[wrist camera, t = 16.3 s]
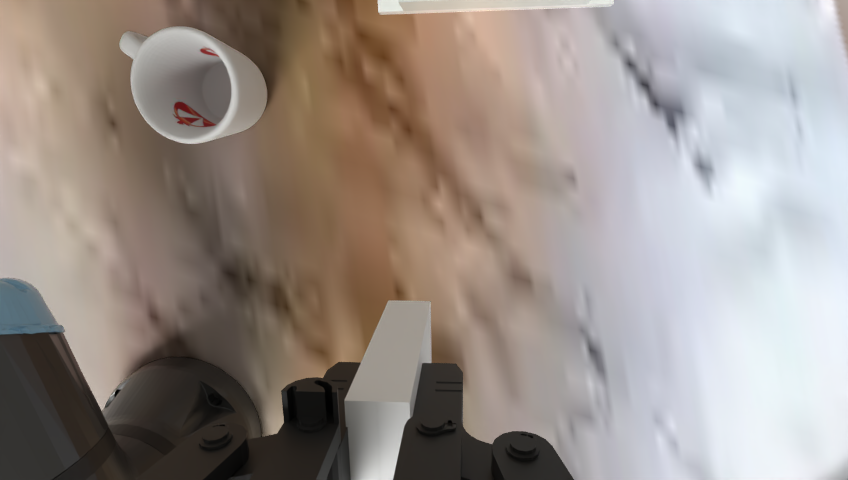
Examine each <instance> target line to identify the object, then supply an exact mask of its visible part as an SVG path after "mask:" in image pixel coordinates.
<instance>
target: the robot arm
mask: <svg viewBox="0 0 848 480" xmlns="http://www.w3.org/2000/svg"><path fill="white" fill-rule="evenodd" d="M63 332H65V330H64V328H63V326H62V325H59V324H58V323H57V321H56V320H55V318H54V316H53V315H52V313H51V312H50V310H49V308H48V307H47V305H46V303H45V301H44V300H43V298H42V296H41V294H40V293H39V291H38V290H37V289H36V288H35V287H34V286H33V285H31V284H30V283H28V282H26V281H23V280H19V279H15V278H0V480H574V479H573V478H572V476H571V474H570V473H569V471H568V470H567V468H566V467H565V465H564V464H563V462H562V460H561V459H560V457H559V456H558V454H557V453H556V451H555V450H554V448H553V446H552V445H551V444H550V443H549V442H548V441H547V440H546V439H544V438H542V437H540V436H538V435H536V434H532V433H528V432H523V431H512V432H508V433H504V434H502V435H500V436H499V437H497V438H496V439H495V440H494V442H493V444H489V443H485V442H482V441H479V440H477V439H475V438H474V437H472V436H470V435H469V434H468V433H467V432H466V431H465V429H464V427H463V372H462V371H461V370H460V368H459V367H458V366H457V364H448V363H431V301H388V303H387V305H386V307H385V310H384V312H383V314H382V316H381V319H380V321H379V323H378V325H377V328H376V330H375V332H374V334H373V337H372V339H371V341H370V344H369V346H368V348H367V350H366V353H365V355H364V357H363V359H362V362H361V363H355V362H338V363H337V364H335V365H334V366H333V367H331V368H330V369H328V370H327V372H326V374H325V375H324V377H323V378H318V377H316V378H305V379H301V380H298V381H295V382H293V383H291V384H289V385H287V386H286V387H285V388H284V389H283V390H282V391H281V392H282V403H283V415H284V424H283V425H282V427H281V428H280V430H279V432H278V433H277V434H274V435H269V436H265V437H261V427H260V422H259V417H258V414H257V411H256V409H255V407H254V405H253V403H252V401H251V399H250V398H249V396H248V394H247V393H246V392H245V391H244V389H243V388H242V387H241V386H240V385H239V384H238V383H237V382H236V381H235V380H234V379H233V378H232V377H230V376H229V375H228V374H227V373H225V372H224V371H222V370H220V369H219V368H217V367H215V366H213V365H211V364H208V363H206V362H203V361H200V360H196V359H191V358H184V357H170V358H163V359H159V360H156V361H153V362H150V363H148V364H146V365H144V366H142V367H141V368H139V369H138V370H137V371H135V372H134V373H133V374H131V375H130V376H129V377H127V378H126V379H125V380H124V381H123V382H121V383H120V384H119V386H118V387H117V388H116V389H115V390H114V391H113V393H112V394H111V396H110V397H109V399H108V401H107V403H106V405H105V408H104V409H103V410H102V411H101V409H100V407H99V405H98V403H97V401H96V399H95V397H94V395H93V393H92V391H91V389H90V387H89V385H88V383H87V381H86V380H85V378H84V376H83V374H82V372H81V370H80V368H79V365H78V363H77V361H76V359H75V357H74V355H73V353H72V351H71V349H70V347H69V344H68V342H67V340H66V338H65V336H64V334H63Z"/></svg>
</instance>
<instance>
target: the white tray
mask: <svg viewBox="0 0 848 480" xmlns="http://www.w3.org/2000/svg"><path fill="white" fill-rule="evenodd" d="M612 4H614V0H378V12H379V14H380V15H387V14H415V13H443V12H471V11H499V10H527V9H555V8H583V7H610V6H611V5H612Z"/></svg>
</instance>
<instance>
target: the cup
mask: <svg viewBox="0 0 848 480" xmlns="http://www.w3.org/2000/svg"><path fill="white" fill-rule="evenodd" d="M119 46H120V48H121V50H122V51H123V52H124V53H125V54H126V55H128V56H129V57H131V58H132V59H133V63H132V67H131V76H130V80H131V90H132V94H133V98H134V101H135V104H136V106H137V108H138V110H139V112H140V113H141V115H142V116H143V118H144V119H145V120H146V122H147V123H148V124H149V125H150V126H151V127H152V128H153V129H154V130H156V131H157V132H158V133H160V134H161V135H163V136H165V137H166V138H168V139H171V140H173V141H176V142H180V143H186V144H198V143H204V142H208V141H211V140H215V139H218V138H222V137H225V136H229V135H233V134H236V133H239V132H242V131H244V130H247V129H248V128H250V127H251V126H253V125H254V124H255V123H256V122H257V121H258V120H259V119H260V117H261V116H262V114H263V112H264V110H265V107H266V103H267V87H266V83H265V80H264V77H263V75H262V73H261V72H260V70H259V68H258V67H257V66H256V65H255V64H254V63H253V62H252V61H251V60H250V59H249V58H248V57H247V56H245V55H244V54H242V53H241V52H239V51H237V50H235V49H234V48H232V47H230V46H228V45H227V44H225V43H223V42H221V41H220V40H218V39H216V38H214V37H213V36H211V35H209V34H207V33H205V32H203V31H201V30H198V29H195V28H191V27H185V26H174V27H168V28H165V29H162V30H159V31H157V32H156V33H154V34H152V35H151V36H150V37H147V36H144V35H142V34H139V33H136V32H132V31H127V32H125V33H124V34H123V35H122V37H121V40H120V43H119Z"/></svg>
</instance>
